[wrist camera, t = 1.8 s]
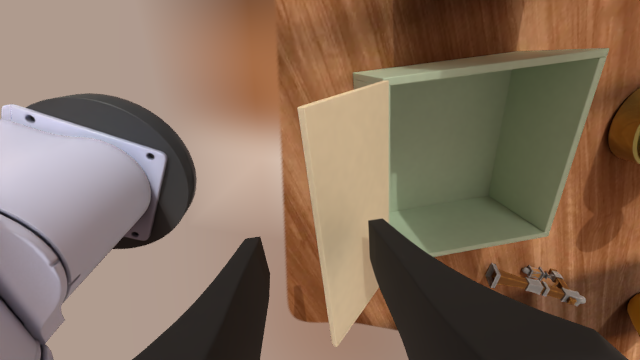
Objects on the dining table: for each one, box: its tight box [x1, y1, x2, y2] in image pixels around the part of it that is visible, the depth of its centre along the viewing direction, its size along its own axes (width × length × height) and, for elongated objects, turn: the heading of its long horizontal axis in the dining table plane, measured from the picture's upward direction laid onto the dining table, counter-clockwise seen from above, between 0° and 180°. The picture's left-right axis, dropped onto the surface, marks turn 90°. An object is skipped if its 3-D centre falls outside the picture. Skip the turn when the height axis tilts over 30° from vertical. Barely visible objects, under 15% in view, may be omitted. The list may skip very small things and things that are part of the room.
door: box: [297, 80, 389, 347], centre depth 12 cm, size 6×12×1 cm
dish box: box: [353, 48, 609, 257], centre depth 18 cm, size 12×12×6 cm
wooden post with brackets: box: [486, 263, 586, 306], centre depth 27 cm, size 2×8×4 cm, turn 85°
